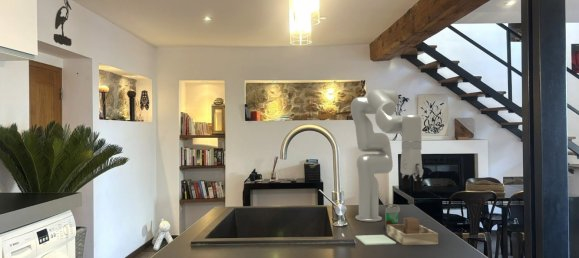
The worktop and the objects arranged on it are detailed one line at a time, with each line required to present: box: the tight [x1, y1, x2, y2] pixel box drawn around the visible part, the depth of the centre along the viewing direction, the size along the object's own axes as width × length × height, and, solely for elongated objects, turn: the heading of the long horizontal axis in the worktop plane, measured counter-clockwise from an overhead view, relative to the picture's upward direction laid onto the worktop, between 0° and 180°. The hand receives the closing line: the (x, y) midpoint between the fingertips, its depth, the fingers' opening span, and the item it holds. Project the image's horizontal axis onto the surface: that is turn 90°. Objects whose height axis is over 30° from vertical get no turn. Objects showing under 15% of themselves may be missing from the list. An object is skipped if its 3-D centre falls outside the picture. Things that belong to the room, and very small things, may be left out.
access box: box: [386, 223, 439, 246], centre depth 160 cm, size 17×14×4 cm
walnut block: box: [403, 217, 420, 234], centre depth 160 cm, size 4×4×8 cm
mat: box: [355, 234, 397, 246], centre depth 157 cm, size 12×12×1 cm
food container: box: [384, 203, 401, 232], centre depth 177 cm, size 12×6×10 cm, turn 168°
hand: (411, 189), depth 160 cm, fingers open, 9 cm apart
